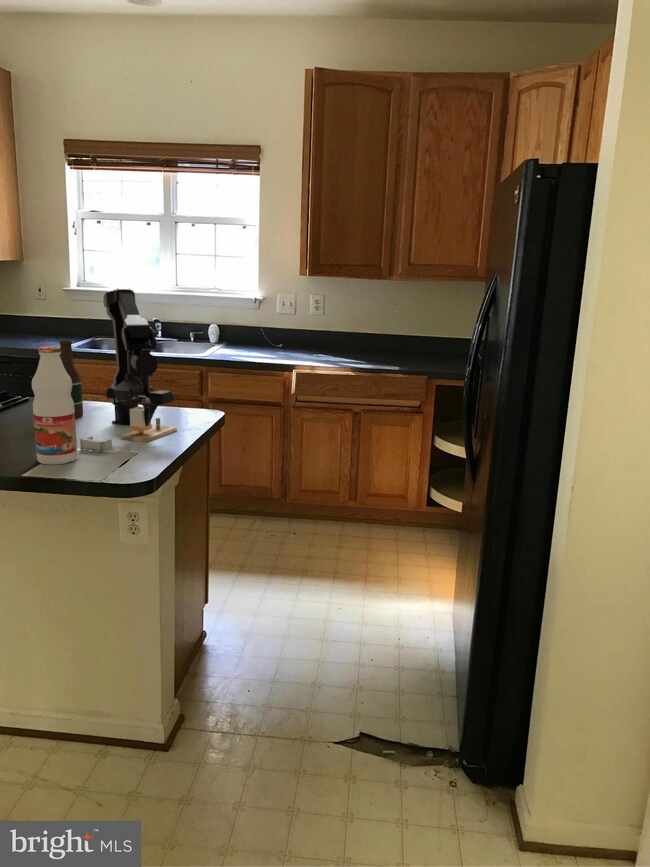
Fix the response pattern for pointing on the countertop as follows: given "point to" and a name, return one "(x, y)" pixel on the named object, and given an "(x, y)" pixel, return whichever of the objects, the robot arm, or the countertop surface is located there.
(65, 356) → the beer bottle
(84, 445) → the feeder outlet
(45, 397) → the fruit juice
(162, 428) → the pin board
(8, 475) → the countertop surface
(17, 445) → the countertop surface
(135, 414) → the sleeve
